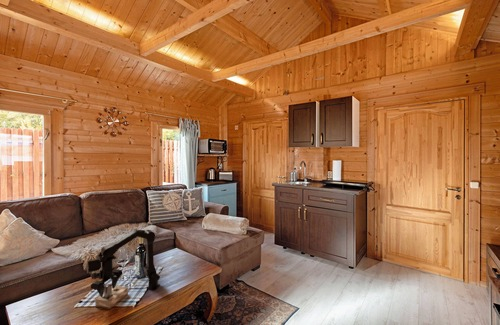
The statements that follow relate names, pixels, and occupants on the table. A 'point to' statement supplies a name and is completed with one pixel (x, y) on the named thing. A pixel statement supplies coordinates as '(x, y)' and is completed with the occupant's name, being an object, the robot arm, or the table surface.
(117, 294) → the bore block
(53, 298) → the table surface
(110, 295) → the peg
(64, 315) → the table surface
